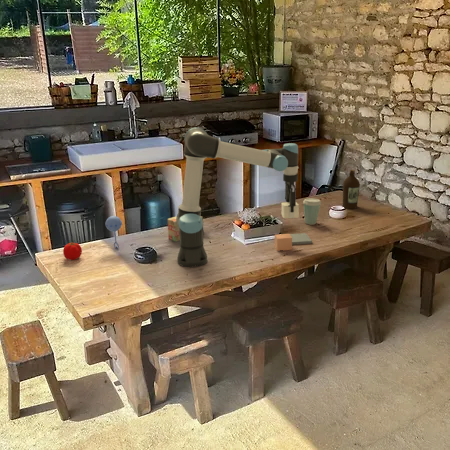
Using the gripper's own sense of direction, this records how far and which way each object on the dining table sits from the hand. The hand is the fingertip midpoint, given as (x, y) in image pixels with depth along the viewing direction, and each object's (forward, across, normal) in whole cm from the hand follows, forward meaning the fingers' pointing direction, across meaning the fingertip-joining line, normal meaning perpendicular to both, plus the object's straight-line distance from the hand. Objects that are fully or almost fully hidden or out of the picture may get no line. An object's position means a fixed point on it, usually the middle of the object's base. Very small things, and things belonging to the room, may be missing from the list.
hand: (290, 215), depth 265 cm
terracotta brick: (+16, -7, +5) cm, 18 cm away
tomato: (+14, -3, +115) cm, 116 cm away
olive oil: (+17, +56, -54) cm, 80 cm away
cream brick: (0, 0, 0) cm, 0 cm away
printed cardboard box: (+15, +21, +56) cm, 61 cm away
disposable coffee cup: (+16, +30, -20) cm, 40 cm away
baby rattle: (+15, +8, +94) cm, 96 cm away
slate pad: (+16, +4, -6) cm, 17 cm away
